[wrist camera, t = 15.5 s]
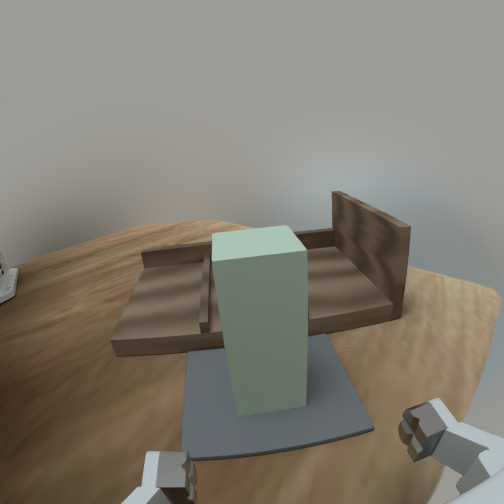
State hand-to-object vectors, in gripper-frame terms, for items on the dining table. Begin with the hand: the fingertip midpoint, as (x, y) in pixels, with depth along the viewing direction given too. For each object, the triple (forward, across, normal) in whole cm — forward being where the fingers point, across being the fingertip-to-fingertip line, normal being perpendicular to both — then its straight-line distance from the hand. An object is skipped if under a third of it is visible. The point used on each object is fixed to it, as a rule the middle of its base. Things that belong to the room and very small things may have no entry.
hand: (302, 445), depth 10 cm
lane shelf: (+28, 0, +8) cm, 29 cm away
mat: (+11, 0, +8) cm, 14 cm away
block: (+11, 0, +8) cm, 14 cm away
